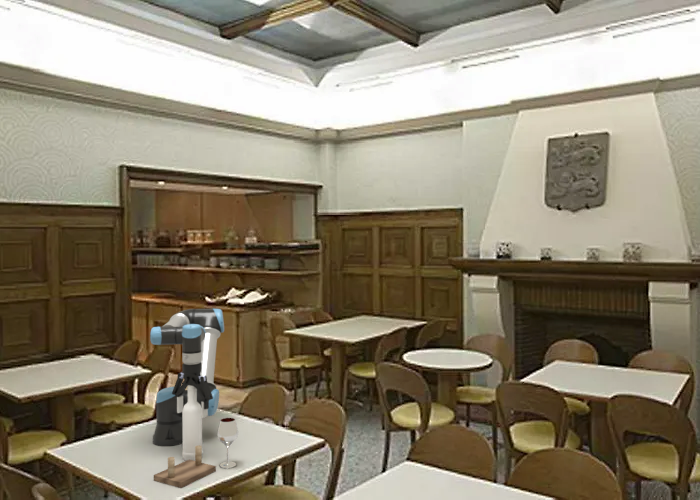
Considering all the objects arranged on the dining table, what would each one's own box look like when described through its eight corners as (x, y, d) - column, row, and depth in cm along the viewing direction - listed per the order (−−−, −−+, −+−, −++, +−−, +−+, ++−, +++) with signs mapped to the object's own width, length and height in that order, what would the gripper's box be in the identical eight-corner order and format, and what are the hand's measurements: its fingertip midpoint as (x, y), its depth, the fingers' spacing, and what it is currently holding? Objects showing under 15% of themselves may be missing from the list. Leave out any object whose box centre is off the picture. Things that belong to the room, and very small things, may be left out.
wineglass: (218, 461, 239) (218, 417, 238) (239, 461, 239) (239, 416, 239) (216, 469, 230) (215, 423, 230) (237, 468, 231) (237, 422, 231)
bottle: (205, 458, 242) (204, 385, 241) (186, 463, 237) (186, 388, 237) (198, 453, 248) (197, 381, 248) (179, 457, 244) (179, 384, 243)
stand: (153, 480, 220) (153, 456, 220) (189, 464, 236) (188, 441, 236) (181, 488, 213) (181, 463, 213) (215, 471, 229) (215, 447, 229)
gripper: (163, 361, 245) (163, 412, 245) (208, 367, 233) (208, 421, 233) (176, 358, 252) (176, 408, 252) (221, 364, 239) (221, 416, 240)
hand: (192, 414), depth 243 cm, fingers open, 13 cm apart
